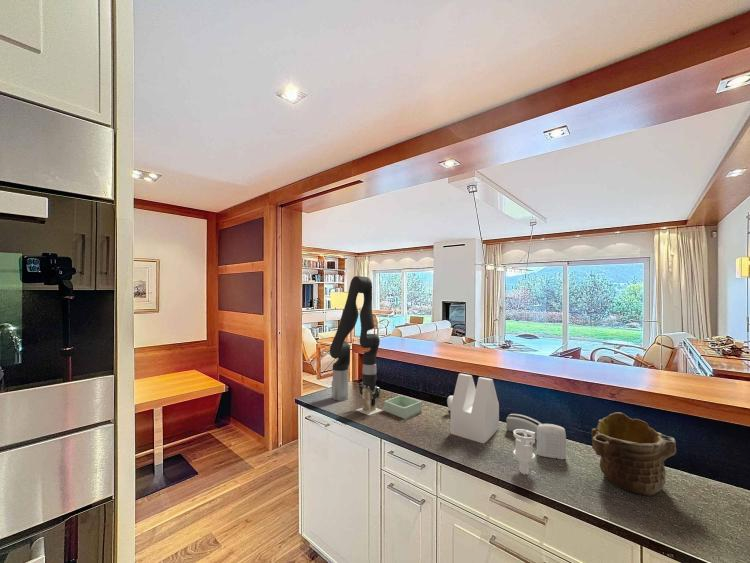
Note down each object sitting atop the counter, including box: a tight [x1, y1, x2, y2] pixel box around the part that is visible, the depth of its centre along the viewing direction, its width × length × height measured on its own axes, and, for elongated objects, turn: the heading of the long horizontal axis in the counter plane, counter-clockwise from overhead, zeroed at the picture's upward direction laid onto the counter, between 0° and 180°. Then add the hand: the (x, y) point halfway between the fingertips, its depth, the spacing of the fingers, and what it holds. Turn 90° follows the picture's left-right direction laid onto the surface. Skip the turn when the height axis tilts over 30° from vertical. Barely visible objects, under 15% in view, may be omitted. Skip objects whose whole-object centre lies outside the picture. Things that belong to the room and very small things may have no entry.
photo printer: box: [536, 423, 567, 460], centre depth 129 cm, size 10×4×12 cm, turn 73°
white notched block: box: [450, 372, 500, 444], centre depth 151 cm, size 19×15×25 cm
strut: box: [362, 387, 377, 412], centre depth 173 cm, size 5×5×12 cm
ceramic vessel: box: [591, 411, 677, 496], centre depth 111 cm, size 23×24×25 cm
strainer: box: [512, 429, 536, 475], centre depth 118 cm, size 7×7×15 cm
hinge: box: [505, 413, 543, 439], centre depth 147 cm, size 17×5×10 cm, turn 42°
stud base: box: [356, 407, 383, 416], centre depth 173 cm, size 10×10×8 cm
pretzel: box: [446, 395, 454, 412], centre depth 172 cm, size 11×12×9 cm
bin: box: [383, 394, 423, 421], centre depth 172 cm, size 14×14×6 cm
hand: (369, 404), depth 173 cm, fingers closed on strut, 5 cm apart
